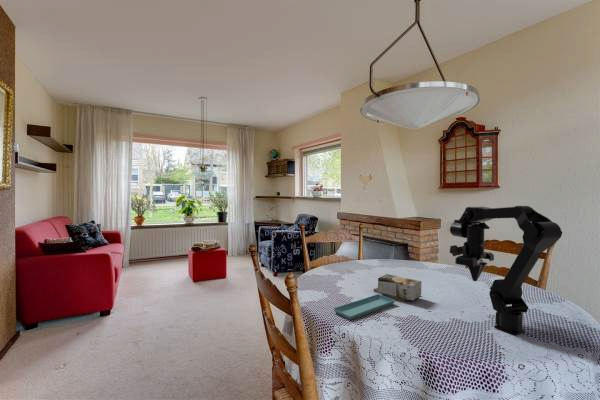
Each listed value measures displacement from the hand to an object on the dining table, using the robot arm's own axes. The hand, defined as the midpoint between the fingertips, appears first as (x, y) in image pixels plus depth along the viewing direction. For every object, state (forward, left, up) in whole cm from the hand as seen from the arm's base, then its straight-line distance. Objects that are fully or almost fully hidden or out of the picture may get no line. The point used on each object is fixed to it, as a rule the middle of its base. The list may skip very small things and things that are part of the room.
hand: (474, 281), depth 112 cm
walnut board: (+30, +10, -12) cm, 33 cm away
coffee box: (+18, +9, -8) cm, 22 cm away
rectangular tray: (+23, +34, -13) cm, 43 cm away
